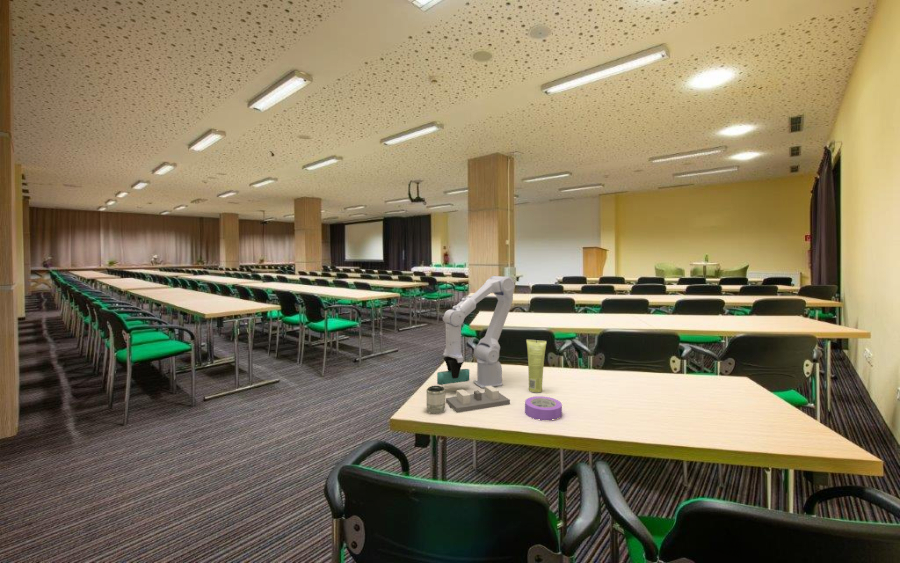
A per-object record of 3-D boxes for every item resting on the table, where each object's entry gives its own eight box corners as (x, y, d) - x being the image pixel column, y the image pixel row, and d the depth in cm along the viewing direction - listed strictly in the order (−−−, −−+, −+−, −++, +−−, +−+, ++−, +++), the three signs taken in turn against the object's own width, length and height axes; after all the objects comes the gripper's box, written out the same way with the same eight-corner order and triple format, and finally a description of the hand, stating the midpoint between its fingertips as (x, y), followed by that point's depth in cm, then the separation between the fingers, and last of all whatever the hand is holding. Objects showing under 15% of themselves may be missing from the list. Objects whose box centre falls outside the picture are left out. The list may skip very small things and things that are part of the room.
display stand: (496, 394, 145) (496, 382, 145) (509, 404, 136) (510, 391, 135) (445, 402, 138) (445, 389, 137) (456, 412, 128) (456, 399, 128)
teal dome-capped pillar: (467, 378, 153) (467, 368, 153) (470, 380, 150) (470, 370, 150) (436, 382, 148) (436, 372, 148) (438, 385, 145) (438, 374, 145)
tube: (537, 387, 153) (538, 338, 151) (546, 391, 148) (546, 340, 147) (525, 389, 150) (526, 339, 149) (534, 393, 146) (534, 342, 144)
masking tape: (568, 413, 128) (568, 402, 127) (549, 424, 119) (549, 412, 119) (537, 404, 136) (537, 393, 136) (517, 414, 128) (517, 402, 127)
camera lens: (443, 414, 127) (443, 391, 126) (424, 413, 128) (424, 389, 127) (447, 407, 133) (446, 384, 132) (429, 406, 134) (428, 383, 134)
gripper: (436, 338, 153) (437, 372, 154) (450, 346, 140) (450, 383, 141) (453, 337, 156) (453, 370, 157) (468, 344, 143) (468, 381, 143)
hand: (453, 376), depth 149 cm, fingers closed on teal dome-capped pillar, 3 cm apart
